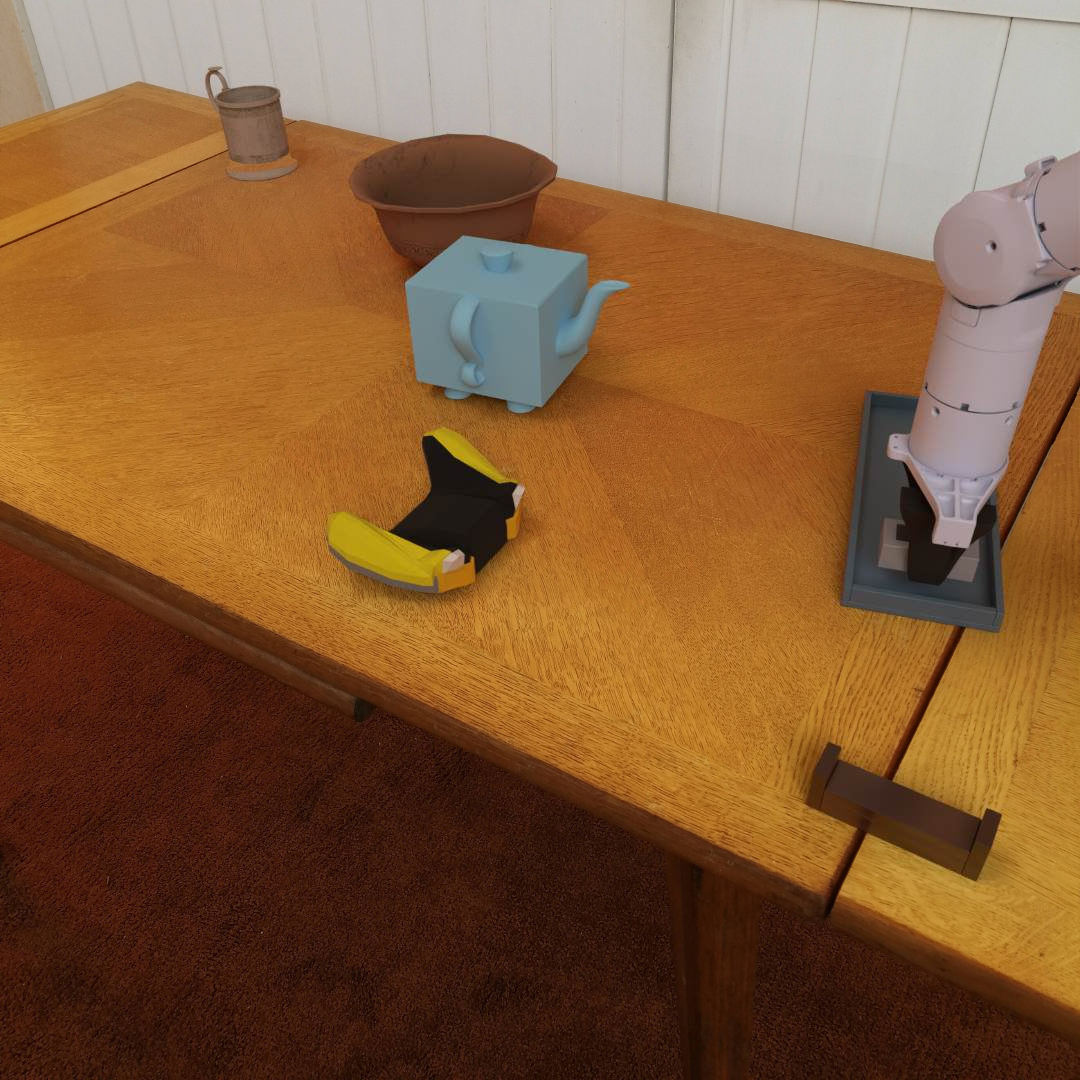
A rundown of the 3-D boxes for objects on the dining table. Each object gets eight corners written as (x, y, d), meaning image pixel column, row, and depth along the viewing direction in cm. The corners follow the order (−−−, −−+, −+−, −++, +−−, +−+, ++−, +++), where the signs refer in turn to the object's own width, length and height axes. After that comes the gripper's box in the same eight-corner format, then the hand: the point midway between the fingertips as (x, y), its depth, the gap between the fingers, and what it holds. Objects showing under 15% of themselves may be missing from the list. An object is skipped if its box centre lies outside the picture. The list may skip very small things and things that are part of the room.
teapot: (404, 410, 88) (385, 273, 80) (483, 332, 99) (474, 204, 91) (593, 453, 82) (594, 309, 74) (655, 365, 93) (662, 231, 85)
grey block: (971, 554, 68) (978, 529, 66) (972, 582, 66) (980, 558, 64) (879, 539, 69) (885, 515, 68) (877, 567, 67) (883, 542, 66)
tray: (985, 422, 84) (990, 404, 83) (998, 633, 65) (1005, 614, 64) (862, 406, 87) (866, 389, 85) (840, 605, 68) (844, 587, 66)
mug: (312, 165, 139) (296, 72, 131) (254, 185, 133) (233, 90, 125) (251, 145, 146) (232, 56, 139) (193, 163, 141) (170, 72, 133)
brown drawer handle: (987, 847, 53) (1002, 813, 51) (976, 882, 51) (991, 848, 50) (820, 774, 57) (828, 741, 55) (805, 805, 55) (812, 771, 53)
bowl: (547, 220, 121) (544, 127, 114) (573, 301, 104) (572, 197, 97) (364, 234, 119) (350, 140, 112) (360, 319, 102) (343, 214, 95)
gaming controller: (322, 582, 71) (438, 629, 67) (308, 521, 68) (429, 567, 64) (442, 473, 81) (549, 508, 77) (435, 415, 77) (547, 448, 73)
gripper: (906, 324, 65) (869, 491, 74) (899, 446, 55) (857, 624, 63) (1022, 336, 63) (970, 506, 72) (1038, 464, 53) (975, 645, 61)
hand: (924, 562), depth 68 cm, fingers closed on grey block, 3 cm apart
